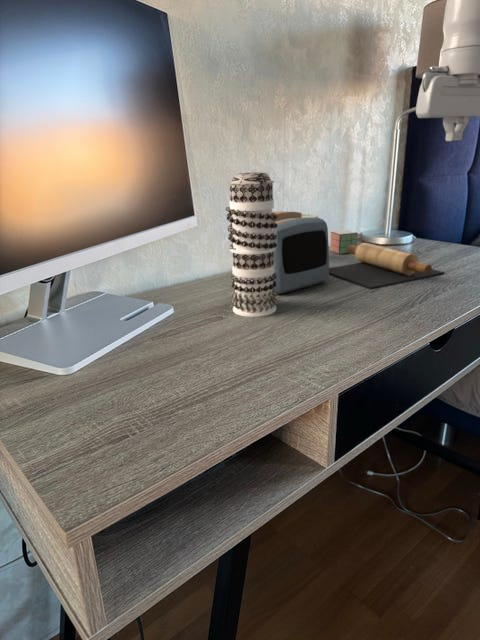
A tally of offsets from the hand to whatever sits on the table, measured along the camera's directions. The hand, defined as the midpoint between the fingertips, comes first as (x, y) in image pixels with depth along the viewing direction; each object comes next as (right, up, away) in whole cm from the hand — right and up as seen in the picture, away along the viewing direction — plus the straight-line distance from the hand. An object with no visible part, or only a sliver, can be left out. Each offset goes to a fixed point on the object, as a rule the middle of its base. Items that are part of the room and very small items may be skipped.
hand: (453, 140), depth 95 cm
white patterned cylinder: (-43, -36, -9) cm, 57 cm away
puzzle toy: (-16, -19, +34) cm, 42 cm away
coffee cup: (-29, -23, +25) cm, 44 cm away
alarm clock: (-36, -30, +7) cm, 47 cm away
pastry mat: (-12, -27, +12) cm, 32 cm away
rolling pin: (-10, -26, +14) cm, 31 cm away
